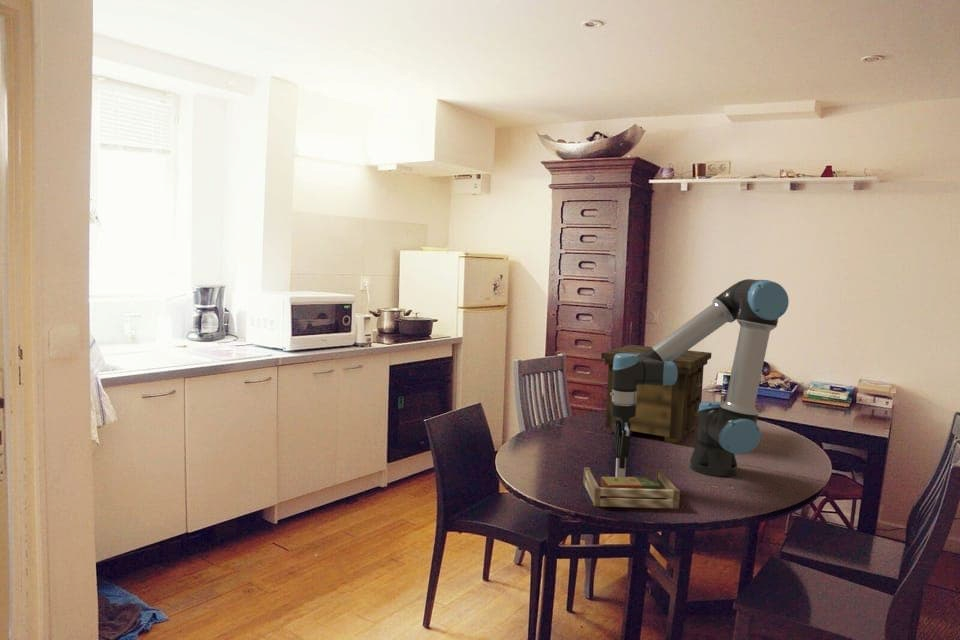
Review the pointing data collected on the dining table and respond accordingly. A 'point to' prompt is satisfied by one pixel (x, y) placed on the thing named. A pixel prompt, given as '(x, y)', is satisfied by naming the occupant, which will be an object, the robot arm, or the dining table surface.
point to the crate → (663, 396)
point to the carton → (629, 484)
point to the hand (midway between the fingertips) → (620, 477)
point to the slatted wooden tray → (633, 493)
